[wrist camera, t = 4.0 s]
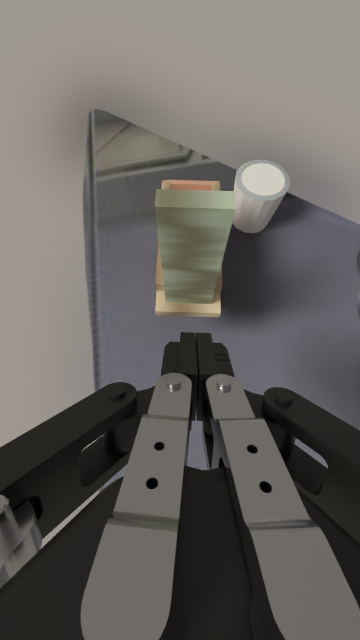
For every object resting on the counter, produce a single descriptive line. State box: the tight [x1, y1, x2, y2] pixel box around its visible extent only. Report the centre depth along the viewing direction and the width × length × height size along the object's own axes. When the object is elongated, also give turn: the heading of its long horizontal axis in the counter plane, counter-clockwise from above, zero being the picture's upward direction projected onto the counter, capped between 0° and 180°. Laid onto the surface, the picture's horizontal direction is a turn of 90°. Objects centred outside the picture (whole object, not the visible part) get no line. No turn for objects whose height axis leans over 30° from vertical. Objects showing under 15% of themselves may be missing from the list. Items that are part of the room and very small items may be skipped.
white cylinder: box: [232, 160, 290, 233], centre depth 38 cm, size 7×7×7 cm
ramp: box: [155, 181, 236, 317], centre depth 23 cm, size 6×14×13 cm, turn 178°
